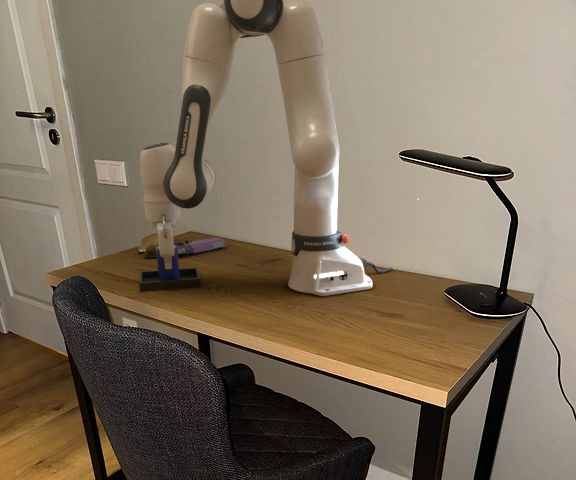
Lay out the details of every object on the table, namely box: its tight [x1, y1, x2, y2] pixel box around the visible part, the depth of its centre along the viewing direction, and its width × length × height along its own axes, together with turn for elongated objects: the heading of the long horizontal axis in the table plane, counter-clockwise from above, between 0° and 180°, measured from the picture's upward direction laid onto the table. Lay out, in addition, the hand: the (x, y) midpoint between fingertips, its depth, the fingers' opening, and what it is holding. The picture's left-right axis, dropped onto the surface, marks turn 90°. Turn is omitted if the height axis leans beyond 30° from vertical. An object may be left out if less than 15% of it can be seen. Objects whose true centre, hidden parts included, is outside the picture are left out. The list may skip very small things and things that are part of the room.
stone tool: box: [137, 229, 175, 259], centre depth 187 cm, size 12×4×25 cm
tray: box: [139, 267, 202, 292], centre depth 155 cm, size 16×10×2 cm, turn 103°
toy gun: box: [174, 236, 226, 256], centre depth 184 cm, size 4×20×10 cm
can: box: [155, 245, 180, 281], centre depth 153 cm, size 6×6×9 cm
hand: (168, 264), depth 154 cm, fingers closed on can, 5 cm apart
